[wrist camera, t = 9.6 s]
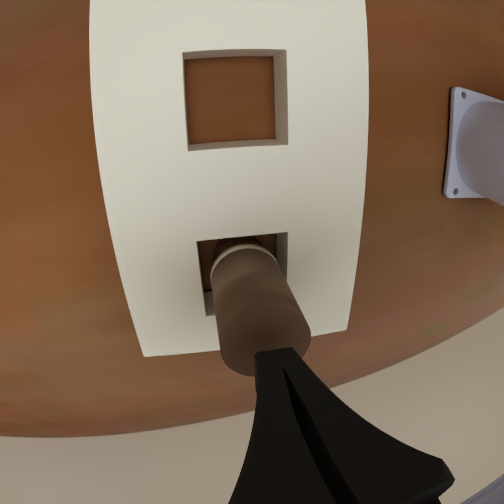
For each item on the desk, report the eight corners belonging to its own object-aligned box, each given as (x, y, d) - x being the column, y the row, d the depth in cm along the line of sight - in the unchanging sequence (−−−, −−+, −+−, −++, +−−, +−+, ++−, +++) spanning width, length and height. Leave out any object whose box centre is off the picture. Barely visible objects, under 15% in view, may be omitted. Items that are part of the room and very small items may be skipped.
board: (343, 4, 14) (364, -7, 11) (332, 308, 22) (346, 329, 20) (103, 9, 12) (90, -4, 10) (147, 331, 21) (144, 356, 18)
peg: (269, 223, 19) (316, 302, 12) (267, 278, 20) (306, 370, 13) (205, 227, 18) (216, 313, 11) (209, 282, 20) (222, 381, 13)
